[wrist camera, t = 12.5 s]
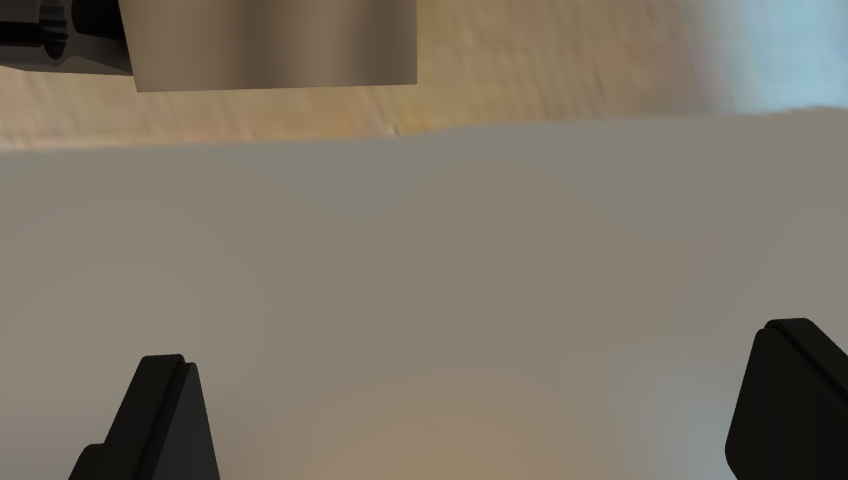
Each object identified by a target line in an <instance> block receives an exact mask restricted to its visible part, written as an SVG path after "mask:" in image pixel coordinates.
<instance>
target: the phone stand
mask: <svg viewBox="0 0 848 480" xmlns="http://www.w3.org/2000/svg"><path fill="white" fill-rule="evenodd" d="M0 65H1V66H6V67H10V68H15V69H19V70H23V71H37V72H59V73H81V74H103V75H125V76H134V75H133V70H132V65H131V60H130V55H129V50H128V46H127V41H126V36H125V31H124V26H123V21H122V17H121V12H120V7H119V2H118V0H0Z"/></svg>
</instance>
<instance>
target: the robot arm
mask: <svg viewBox="0 0 848 480" xmlns="http://www.w3.org/2000/svg"><path fill="white" fill-rule="evenodd" d="M725 455H726V460H727V463H728V465H729V467H730V469H731V470H732V472H733V473H734V475H735V476H736V478H737V480H848V356H847V355H846V354H845V353H844V352H843V351H842V350H841V349H840V348H839V347H838V346H837V345H836V344H835V343H834V342H833V341H832V340H830V338H829V337H828V336H827V335H826V334H824V333H823V332H822V331H821V330H820V329H819V328H818V327H817V326H816V325H815V324H814V323H813V322H812V321H810V320H809V319H806V318H792V319H776V320H775V319H774V320H770V321H768V322H767V324H766V325H765V327H764V329H760V330H759V331H758V332H757V333H756V336H755V339H754V342H753V346H752V350H751V353H750V357H749V360H748V364H747V368H746V371H745V375H744V378H743V382H742V386H741V389H740V393H739V397H738V400H737V404H736V408H735V412H734V415H733V419H732V422H731V426H730V429H729V433H728V436H727V440H726V444H725ZM68 480H220V476H219V472H218V467H217V462H216V457H215V452H214V447H213V443H212V437H211V433H210V428H209V423H208V418H207V413H206V408H205V403H204V398H203V393H202V388H201V383H200V379H199V374H198V369H197V366H196V364H195V363H193V362H191V363H185V360H184V358H183V356H182V355H181V354H172V355H154V356H145V357H143V358H142V359H141V361H140V363H139V365H138V368H137V370H136V372H135V374H134V377H133V379H132V381H131V383H130V385H129V388H128V390H127V392H126V394H125V397H124V399H123V401H122V403H121V406H120V408H119V410H118V412H117V415H116V417H115V419H114V422H113V424H112V426H111V428H110V430H109V433H108V435H107V437H106V439H105V441H104V443H102V444H90V445H88V446H87V447H86V448H84V450H83V452H82V453H81V455H80V456H79V458H78V460H77V462H76V465H75V467H74V469H73V471H72V473H71V475H70V477H69V479H68Z"/></svg>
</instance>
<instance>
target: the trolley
mask: <svg viewBox="0 0 848 480" xmlns="http://www.w3.org/2000/svg"><path fill="white" fill-rule="evenodd" d="M118 2H119V7H120V12H121V17H122V21H123V26H124V31H125V36H126V41H127V46H128V50H129V55H130V60H131V65H132V70H133V75H134V80H135V84H136V89H137V92H164V91H199V90H234V89H269V88H304V87H339V86H374V85H408V84H417V22H416V0H118Z"/></svg>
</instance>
